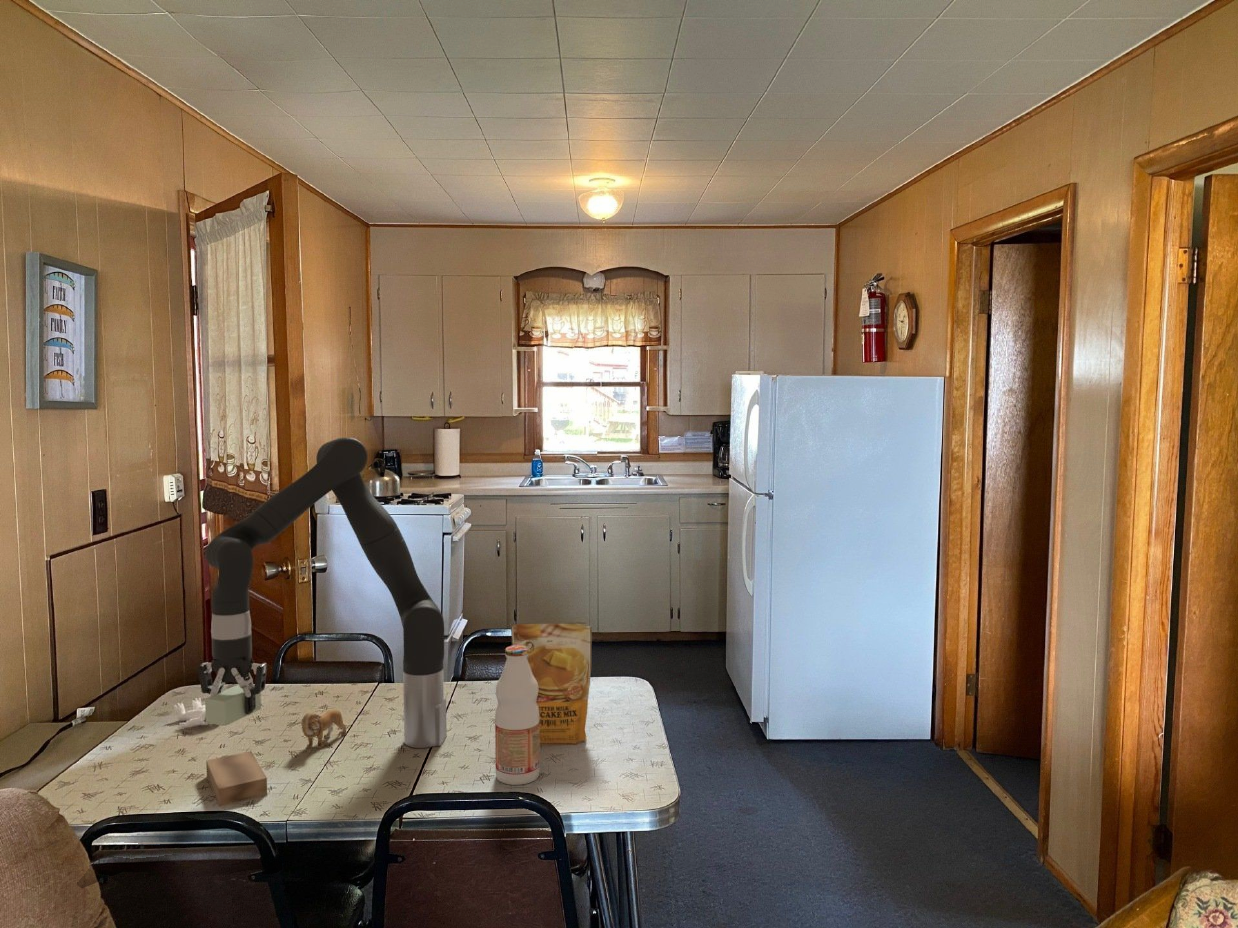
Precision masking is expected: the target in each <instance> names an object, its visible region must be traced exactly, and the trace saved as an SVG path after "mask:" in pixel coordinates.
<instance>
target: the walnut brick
mask: <svg viewBox="0 0 1238 928" xmlns="http://www.w3.org/2000/svg"><path fill="white" fill-rule="evenodd" d="M205 762H206V763H205V764H206V765H205V766H206V778H207V781H208V783H209V785H210V788H211V790H212V792H213V795H214V798H215V799H216V802H217V805H218V807H222V806H226V805H232V804H235V803H240V802H242V801H243V802H245V801H247V800H252V799H256V798H260V797H265V796H268V778H267V775H265V772H264V771H263V769H262V767H261V765H260V763H259V761H257V759H256V756H255V754H254V753H253V751H252V750H250V751H245V752H241V753H235V754H232V755H226V756H222V757H216V758H212V759H207V760H206V761H205Z"/></svg>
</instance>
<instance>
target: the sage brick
mask: <svg viewBox="0 0 1238 928" xmlns="http://www.w3.org/2000/svg"><path fill="white" fill-rule="evenodd" d="M261 692H262V691H261ZM261 692H260V693H259V694H256V696H255V697H256V708H255V709H254V710H253V712H252V713H251V714H245V697H246V695H245V693H244V691H243V689H242V688H240V686H239V684H236V685H234V686H232V687H230V688H227V689H225V690H222V691H221V692H220V693H217V694H215V695H213V696H211V695H210V696H208V697H206V698H205V699H204V705H205V713H206V721H205V722H206V723H209V724H212V725H217V726H225V727H227V726H228V725H230V724H233V723H234V722H237V721H239V720H241V719H243V718H244V717H247V716H249V715H252V714H253V713H256V712H258V711H259V710H262V697H261V696H262V694H261Z"/></svg>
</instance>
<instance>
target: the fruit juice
mask: <svg viewBox="0 0 1238 928" xmlns="http://www.w3.org/2000/svg"><path fill="white" fill-rule="evenodd" d="M528 653H529V651H528V647H526V646H521V645H514V646H512V645H510V646H507V647H506V648H505V650H504V654H505V658H506V660H505V664H504V667H503V670H502V674H501V676H500V677H499V679H498V680H497V682H496V685H495V697H496V699H497V705H496V708H495V715H494V718H495V719H494V727H495V728H494V731H495V733H494V735H495V736H494V738H495V741H494V743H495V745H494V746H495V747H494V749H495V750H494V751H495V755H494V757H495V759H494V761H495V776H496V779H497V780H498V781H499V782H500V783H502V784H505V785H509V786H519V785H526V784H529V783H532V782H534V781H536V780H537V779H538V777H539V776H540V772H541V771H540V767H541V766H540V763H541V762H540V759H541V758H540V756H541V755H540V754H541V753H540V751H541V750H540V749H541V748H540V740H539V720H540V719H539V708H538V705H537V702H536V700H537V696H538V691H539V688H538V683H537V680H536V679H535V677H534V676H533V674H532V671H531V668H530V666H529V663H528V660H527V656H528Z"/></svg>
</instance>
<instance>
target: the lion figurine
mask: <svg viewBox="0 0 1238 928" xmlns="http://www.w3.org/2000/svg"><path fill="white" fill-rule="evenodd" d="M302 717H303V718H302V719H301V730H302V733H303V734H304V736H306V737H307V740H308V744H306V748H308V749H309V748H313V745H314V740H313V738H315V737H317V746H316V748H317V749H323V747H324V744H323V743H324V742H323V738H329V737H331V734H332V732H333V730H334V729H333V725H335V726H337V727H338V728H339V729H340V731H341V730H342V731H341V733H340V735H341V736H346V735H347V727H346V724H345V723H344V720H343V715H342V713H341V711H339V710H338V709H331V710H328V711H326V712H325V713H324V714H322V715H319V714H317V713H315V712H313V711H312V712H307V713H306V714H304V715H303V716H302ZM325 731H327V733H326V734H324V732H325Z"/></svg>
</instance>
